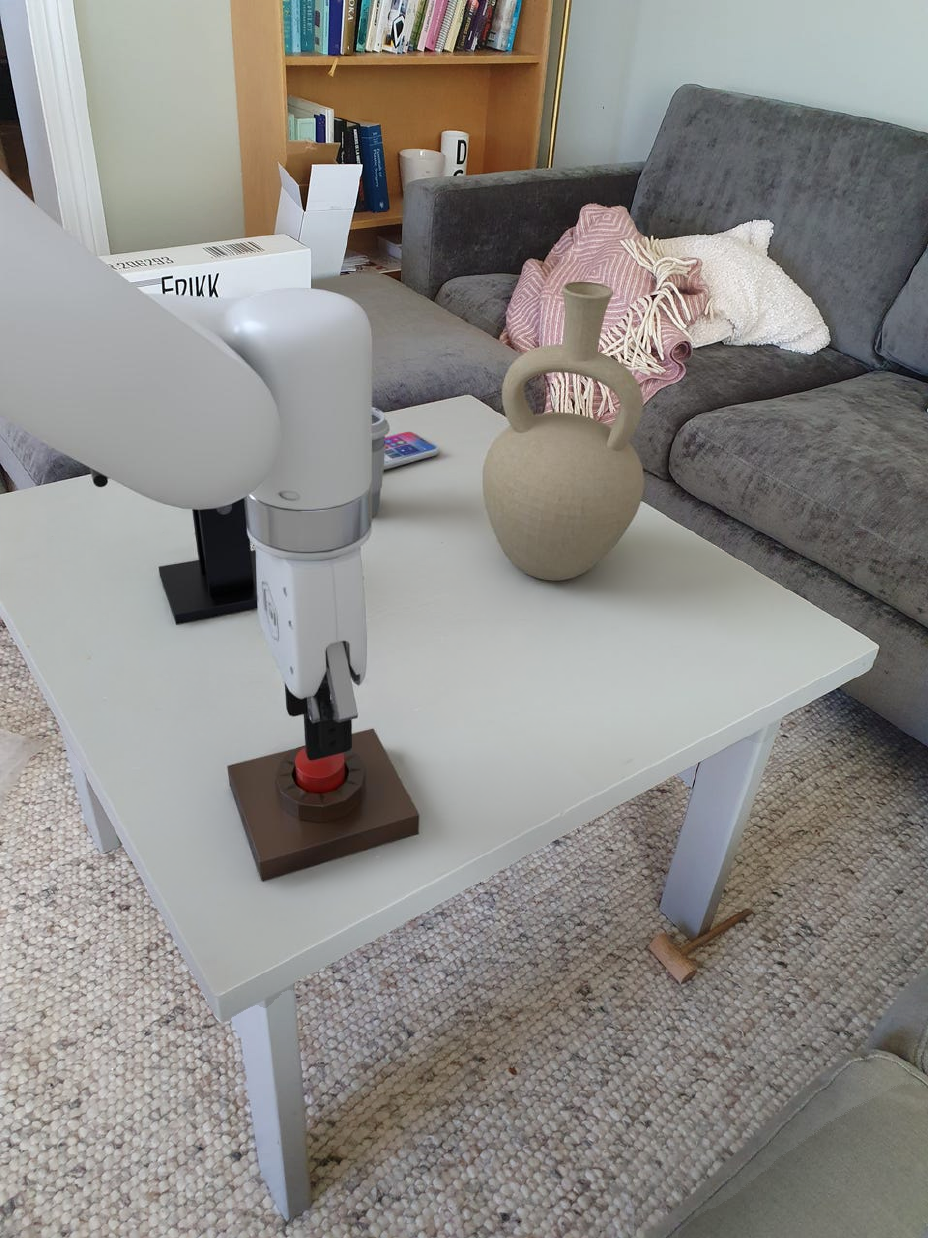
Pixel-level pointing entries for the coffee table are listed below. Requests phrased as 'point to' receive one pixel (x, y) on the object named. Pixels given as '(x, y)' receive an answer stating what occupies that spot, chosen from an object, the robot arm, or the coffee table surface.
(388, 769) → the button box
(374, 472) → the cup
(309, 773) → the button
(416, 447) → the smartphone
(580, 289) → the vase
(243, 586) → the bracket
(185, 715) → the coffee table surface
